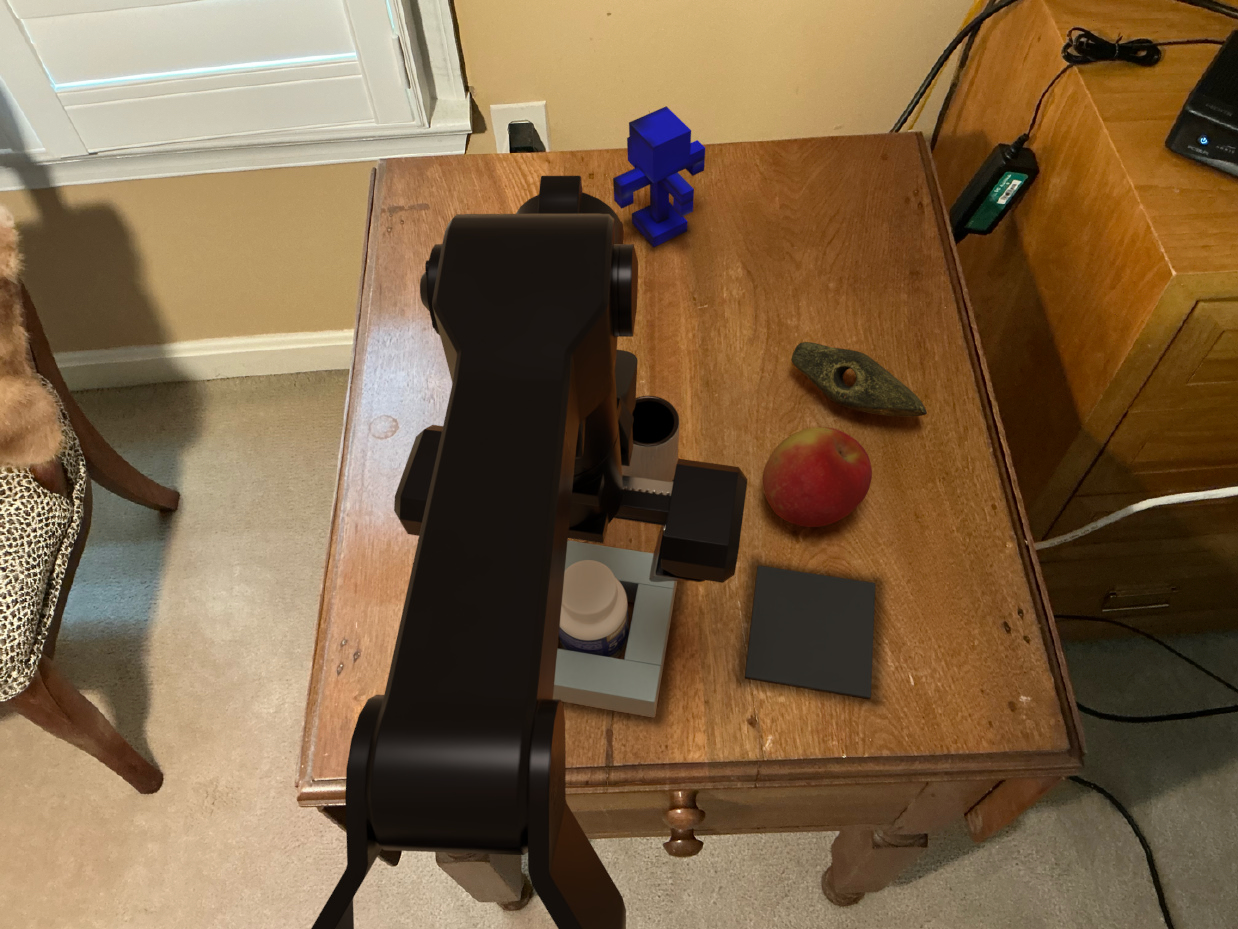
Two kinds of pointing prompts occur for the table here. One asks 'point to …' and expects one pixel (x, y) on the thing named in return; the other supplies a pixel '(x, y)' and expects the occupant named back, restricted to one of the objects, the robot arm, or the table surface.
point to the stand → (642, 667)
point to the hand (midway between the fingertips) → (582, 563)
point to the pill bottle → (593, 610)
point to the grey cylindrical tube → (654, 440)
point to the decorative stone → (872, 381)
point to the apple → (816, 476)
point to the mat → (812, 632)
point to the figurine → (660, 174)
